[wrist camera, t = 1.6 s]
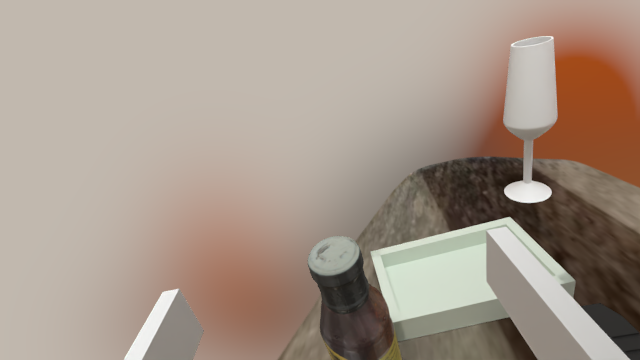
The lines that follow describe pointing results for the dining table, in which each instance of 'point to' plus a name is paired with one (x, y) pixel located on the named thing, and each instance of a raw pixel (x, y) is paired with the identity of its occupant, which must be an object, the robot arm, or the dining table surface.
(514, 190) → the champagne flute
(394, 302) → the tray
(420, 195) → the dining table surface
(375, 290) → the sauce bottle
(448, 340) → the dining table surface
